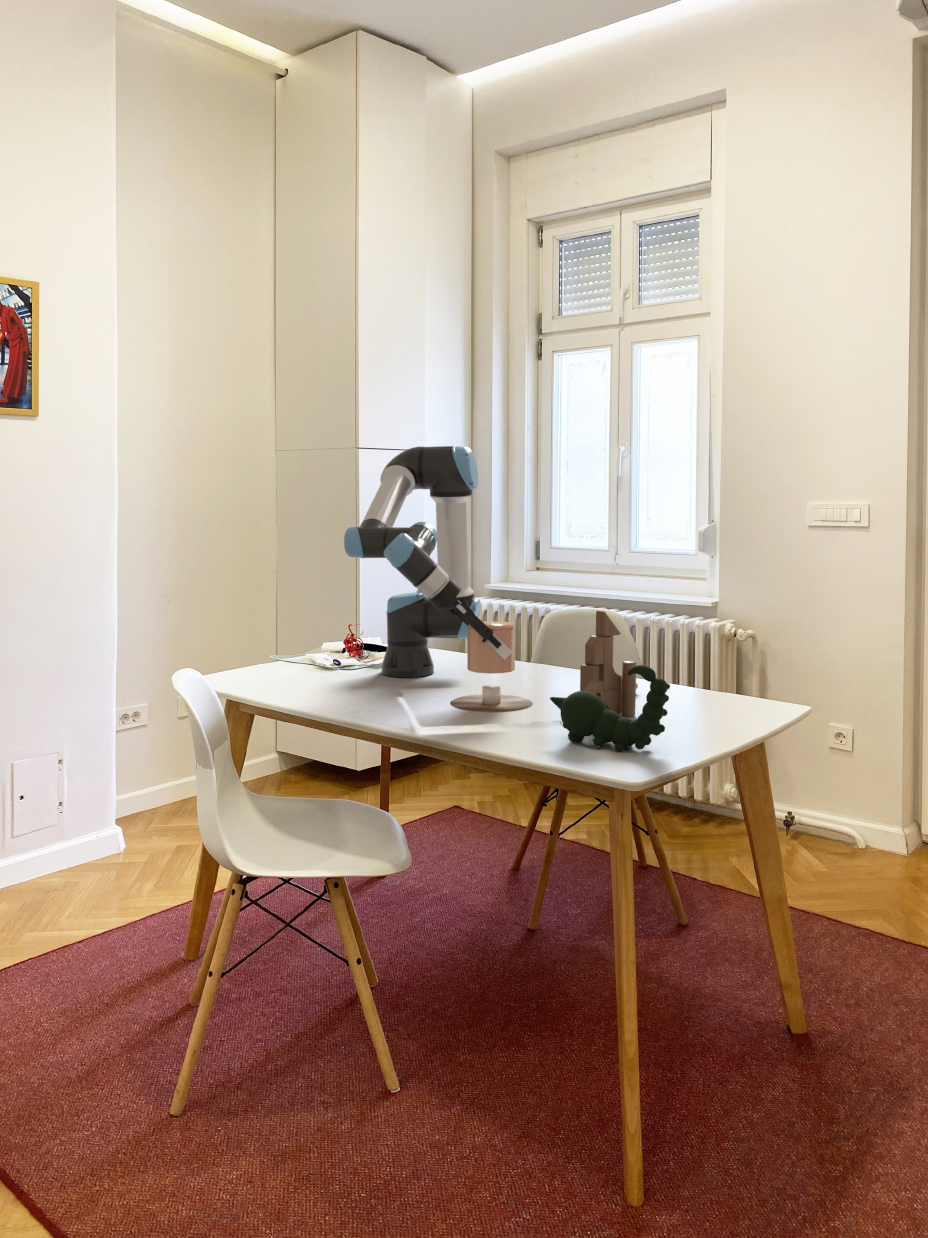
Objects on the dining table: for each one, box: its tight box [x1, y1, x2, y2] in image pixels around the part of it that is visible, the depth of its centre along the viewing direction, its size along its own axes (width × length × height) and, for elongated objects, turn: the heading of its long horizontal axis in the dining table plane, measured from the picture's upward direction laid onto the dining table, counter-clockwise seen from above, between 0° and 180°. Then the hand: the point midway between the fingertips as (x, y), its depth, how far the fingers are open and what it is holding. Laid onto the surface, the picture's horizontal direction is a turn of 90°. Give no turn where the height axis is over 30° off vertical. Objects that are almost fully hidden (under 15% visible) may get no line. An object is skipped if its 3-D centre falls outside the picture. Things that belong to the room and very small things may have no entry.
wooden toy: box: [579, 610, 637, 718], centre depth 221 cm, size 15×7×25 cm, turn 130°
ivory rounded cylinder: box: [481, 684, 502, 705], centre depth 232 cm, size 4×4×4 cm
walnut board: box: [449, 693, 534, 713], centre depth 232 cm, size 20×20×2 cm
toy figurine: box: [549, 664, 671, 753], centre depth 197 cm, size 9×19×25 cm
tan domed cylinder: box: [466, 620, 516, 675], centre depth 230 cm, size 11×11×11 cm
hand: (502, 651), depth 231 cm, fingers closed on tan domed cylinder, 11 cm apart
